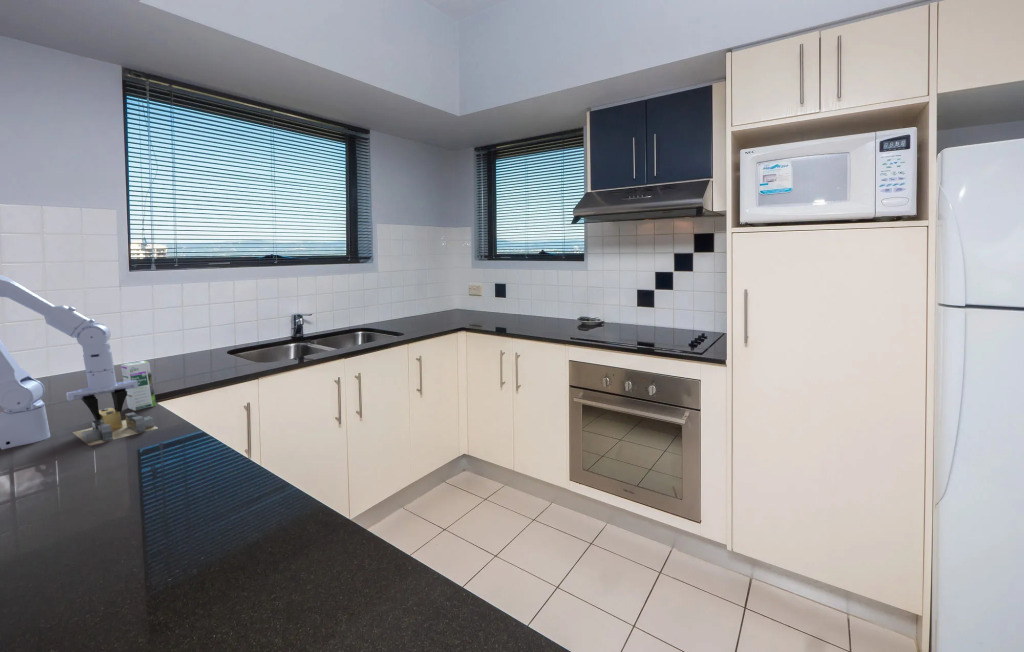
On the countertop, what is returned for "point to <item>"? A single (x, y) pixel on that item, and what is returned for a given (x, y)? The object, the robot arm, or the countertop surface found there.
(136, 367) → the syrup box
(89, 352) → the robot arm
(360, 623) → the countertop surface
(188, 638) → the countertop surface
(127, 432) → the board
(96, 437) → the chain ends
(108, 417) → the link
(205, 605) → the countertop surface
